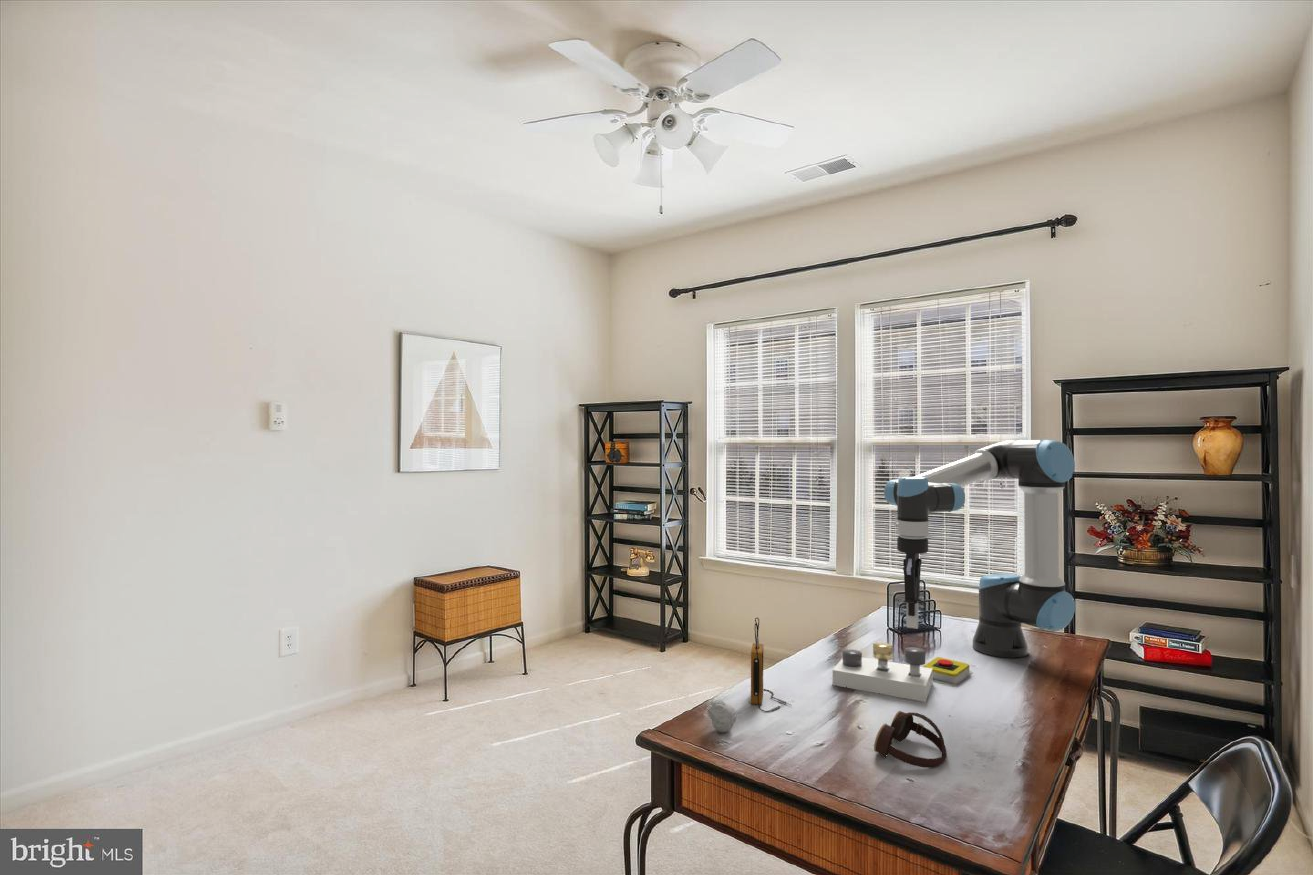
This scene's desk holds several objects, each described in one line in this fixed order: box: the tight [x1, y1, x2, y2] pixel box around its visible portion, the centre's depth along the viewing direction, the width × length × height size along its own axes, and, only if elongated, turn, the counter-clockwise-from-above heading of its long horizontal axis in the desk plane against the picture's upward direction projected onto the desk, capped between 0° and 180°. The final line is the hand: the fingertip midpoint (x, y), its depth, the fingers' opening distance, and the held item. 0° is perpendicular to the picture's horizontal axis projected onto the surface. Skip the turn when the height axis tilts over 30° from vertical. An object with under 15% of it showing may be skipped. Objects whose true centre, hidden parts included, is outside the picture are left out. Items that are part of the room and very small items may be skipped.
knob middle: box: [872, 642, 894, 672], centre depth 181 cm, size 5×5×7 cm
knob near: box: [904, 646, 926, 677], centre depth 177 cm, size 5×5×7 cm
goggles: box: [873, 710, 948, 769], centre depth 142 cm, size 15×13×10 cm
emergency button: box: [922, 656, 973, 687], centre depth 188 cm, size 9×4×15 cm
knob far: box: [842, 649, 863, 667], centre depth 185 cm, size 5×5×7 cm
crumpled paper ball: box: [706, 699, 737, 733], centre depth 152 cm, size 6×7×7 cm
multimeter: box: [750, 617, 792, 713], centre depth 169 cm, size 15×10×20 cm
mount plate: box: [832, 657, 934, 703], centre depth 181 cm, size 23×14×4 cm, turn 61°
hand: (912, 627), depth 177 cm, fingers closed
